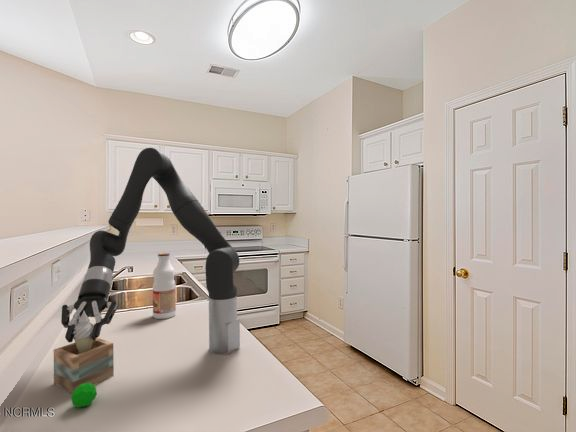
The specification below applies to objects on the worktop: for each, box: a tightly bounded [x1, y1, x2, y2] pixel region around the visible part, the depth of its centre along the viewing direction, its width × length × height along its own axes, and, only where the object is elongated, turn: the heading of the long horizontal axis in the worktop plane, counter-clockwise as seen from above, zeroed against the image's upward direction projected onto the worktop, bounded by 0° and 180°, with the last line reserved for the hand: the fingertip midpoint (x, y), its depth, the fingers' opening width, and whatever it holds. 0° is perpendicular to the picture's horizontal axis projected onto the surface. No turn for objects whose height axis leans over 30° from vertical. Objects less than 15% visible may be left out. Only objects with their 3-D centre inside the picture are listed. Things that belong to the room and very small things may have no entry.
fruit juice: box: [152, 252, 177, 320], centre depth 135 cm, size 9×9×28 cm
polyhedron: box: [70, 383, 98, 408], centre depth 71 cm, size 5×5×5 cm
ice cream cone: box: [73, 311, 94, 354], centre depth 82 cm, size 5×5×15 cm
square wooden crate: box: [53, 337, 115, 394], centre depth 82 cm, size 10×10×9 cm
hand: (81, 339), depth 80 cm, fingers closed on ice cream cone, 5 cm apart
